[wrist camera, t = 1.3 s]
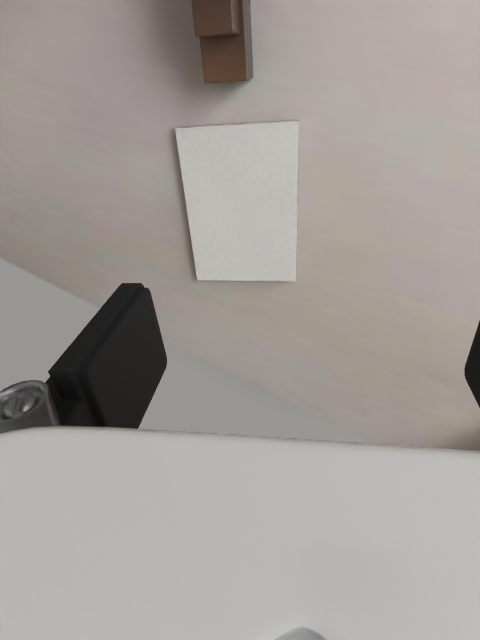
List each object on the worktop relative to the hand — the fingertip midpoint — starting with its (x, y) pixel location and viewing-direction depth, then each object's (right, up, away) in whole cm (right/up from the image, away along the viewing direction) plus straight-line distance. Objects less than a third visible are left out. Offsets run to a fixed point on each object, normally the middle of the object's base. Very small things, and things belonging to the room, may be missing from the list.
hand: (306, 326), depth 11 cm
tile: (-2, +10, +24) cm, 26 cm away
